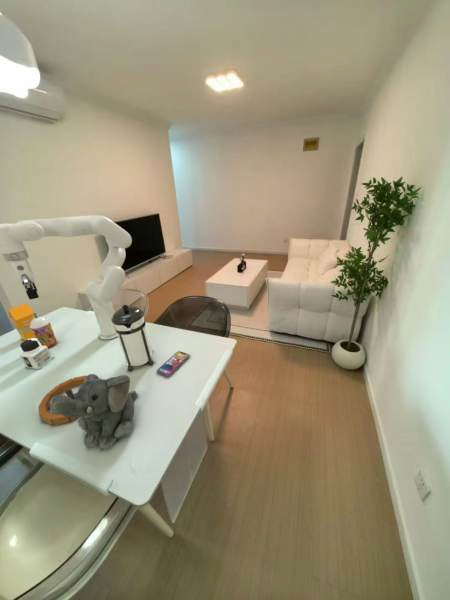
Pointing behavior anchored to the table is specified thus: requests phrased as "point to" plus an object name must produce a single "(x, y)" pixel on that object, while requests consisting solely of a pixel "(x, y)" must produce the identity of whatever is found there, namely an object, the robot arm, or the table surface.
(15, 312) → the orange juice
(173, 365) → the smartphone
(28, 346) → the container
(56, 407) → the stuffed elephant
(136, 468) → the table surface
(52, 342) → the smoothie
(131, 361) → the coffee press
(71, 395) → the spindle
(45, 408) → the orange-brown ring
